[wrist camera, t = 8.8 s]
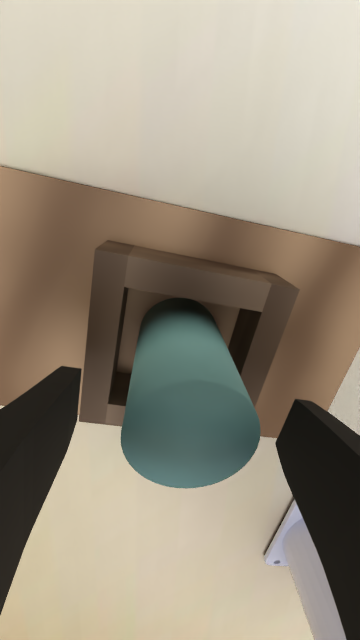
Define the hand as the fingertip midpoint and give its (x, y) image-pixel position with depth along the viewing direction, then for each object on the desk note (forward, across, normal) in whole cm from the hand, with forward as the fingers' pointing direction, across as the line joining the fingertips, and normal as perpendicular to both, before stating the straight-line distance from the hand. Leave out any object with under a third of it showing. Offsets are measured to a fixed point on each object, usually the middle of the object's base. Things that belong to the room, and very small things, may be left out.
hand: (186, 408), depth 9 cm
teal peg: (+6, 0, 0) cm, 6 cm away
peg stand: (+6, 0, 0) cm, 6 cm away
